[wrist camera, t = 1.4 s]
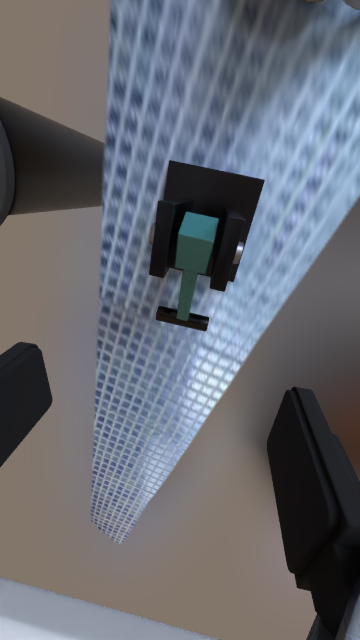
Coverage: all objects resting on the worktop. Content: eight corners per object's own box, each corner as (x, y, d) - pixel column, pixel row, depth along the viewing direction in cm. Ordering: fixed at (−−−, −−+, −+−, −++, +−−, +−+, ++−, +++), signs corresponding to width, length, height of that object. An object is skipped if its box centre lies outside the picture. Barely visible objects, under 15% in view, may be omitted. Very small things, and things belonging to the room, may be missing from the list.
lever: (207, 318, 25) (204, 338, 23) (160, 307, 25) (154, 326, 24) (240, 222, 15) (237, 246, 14) (164, 206, 16) (154, 228, 14)
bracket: (233, 278, 28) (242, 335, 17) (157, 261, 28) (116, 306, 17) (262, 180, 23) (303, 167, 12) (171, 161, 24) (127, 131, 12)
